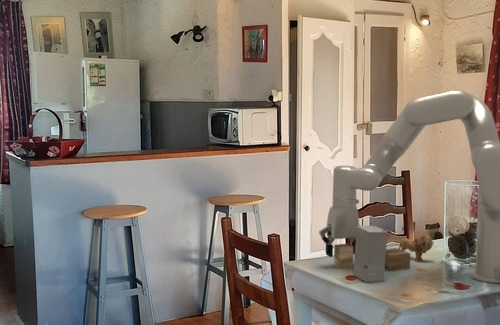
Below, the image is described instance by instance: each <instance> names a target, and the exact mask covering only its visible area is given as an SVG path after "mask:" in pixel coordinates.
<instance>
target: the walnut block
mask: <svg viewBox="0 0 500 325" xmlns="http://www.w3.org/2000/svg"><path fill="white" fill-rule="evenodd" d="M410 268H411V252H407V251H406V250H405V251H403V250H401V248H400V249H399V248H397V247H393V248H386V257H385V269H384V270H385V271H386V270H387V271H388V272H389V271H399V270H408V269H410Z"/></svg>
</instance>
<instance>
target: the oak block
mask: <svg viewBox="0 0 500 325" xmlns="http://www.w3.org/2000/svg"><path fill="white" fill-rule="evenodd" d="M333 266H334V267H336V268H338V269H341V270H343V269H351V268H353V267H354V253H353V246H352V244H351V245H349V244H348V243H340V244H333Z"/></svg>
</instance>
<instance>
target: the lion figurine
mask: <svg viewBox="0 0 500 325" xmlns="http://www.w3.org/2000/svg"><path fill="white" fill-rule="evenodd" d="M433 245H434V241H433V240H432V238H431V235H430V236H429V235H423V236H421V237H419V238H416V239H415V240H411V239H410V238H407V237H404V238H402V239H401V240H400V243H399V246H398V249H400V250H403V251H405V252H406V250H408V251H410V252H413V253H414V254H415V261H416V263H420V262H421V261H424V259H423V258H422V256H423V254H426V253H427V252H428V251H430V250H431V249H432V247H433Z"/></svg>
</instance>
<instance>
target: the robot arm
mask: <svg viewBox="0 0 500 325" xmlns="http://www.w3.org/2000/svg"><path fill="white" fill-rule="evenodd" d="M455 120H460V121H461V122H462V124H463V125H464V128H465V132H466V136H467V140H468V145H469V149H470V150H469V151H470V155H471V156H470V158H471V159H470V160H471V163H472V166H473V167H474V171H475V176H476V181H477V184H478V188H477V223H476V240H475V244H476V246H475V267H474V269H472V270H470V272H469V276H470V277H471V278H472V279H473V280H476V281H480V282H484V283H491V284H500V139H499V134H498V130H497V127H496V122H495V119H494V116H493V113H492V112H491V110H490V108H489V107H488V105H487V104H486V103H485V102H484V101H483V100H481V99H480V98H479V97H478V96H476V95H473V94H472V93H470V92H469V93H468V92H467V91H464V90H460V89H454V90H451V91H446V92H442V93H437V94H434V95H433V94H432V95H427V96H424V97H423V96H422V97H416V98H412V99H411V100H409V101H408V102H407V103H406V105H405V106H404V108H403V109H402V111H401V112H400V113H399V114H398V116H397V118H396V119H395V120H394V121H393V123H392V124H391V125H390V127H389V128H388V129H387V131H386V132H385V133H384V135H383V136H382V137H381V140H380V142H379V144H378V146H377V147H376V149H375V150H374V152H373V154H371V156H370V157H369V159H368V160H367V161H366V163H365V164H364V165H363V166H362V167H358V168H356V167H355V166H354V165H353V166H352V165H337V166H335V167H334V168H333V174H332V176H333V177H332V178H333V180H332V181H333V182H332V206H331V207H329V211H328V213H327V214H328V215H327V219H326V220H327V222H326V226H325V227H323V228H322V229H321V230H319V231H318V235H319V236H320V239H321V240H322V241H323V242H324V244H325V254H326V256H328V257H330V258H332V257H334V244H333V243H334V241H335V240H341V239H353V240H352V242H351V246H353V255H355V244H356V232H357V226H361V225H360V222H359V221H360V220H359V211H358V207H357V204H359V203H360V201H359V199H357V190H361V191H365V192H368V191H373V190H375V189H377V188H378V186H379V185H380V183H381V182H382V181H383V180H384V178H385V176H386V175H387V174H388V172H389V171H390V170H391V168H392V167H393V166H394V165H395V164H396V162H397V161H398V160H399V159H400V158H401V157H402V156H403V155H405V153H406V152H407V151H408V149H409V148H410V147H411V145H412V144H413V143H414V141H415V140H416V138H417V137H418V136H419V135H420V134H421V132H422V131H423V129H424V128H425V127H426V126H429V125H435V124H441V123H445V122H450V121H455Z"/></svg>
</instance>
